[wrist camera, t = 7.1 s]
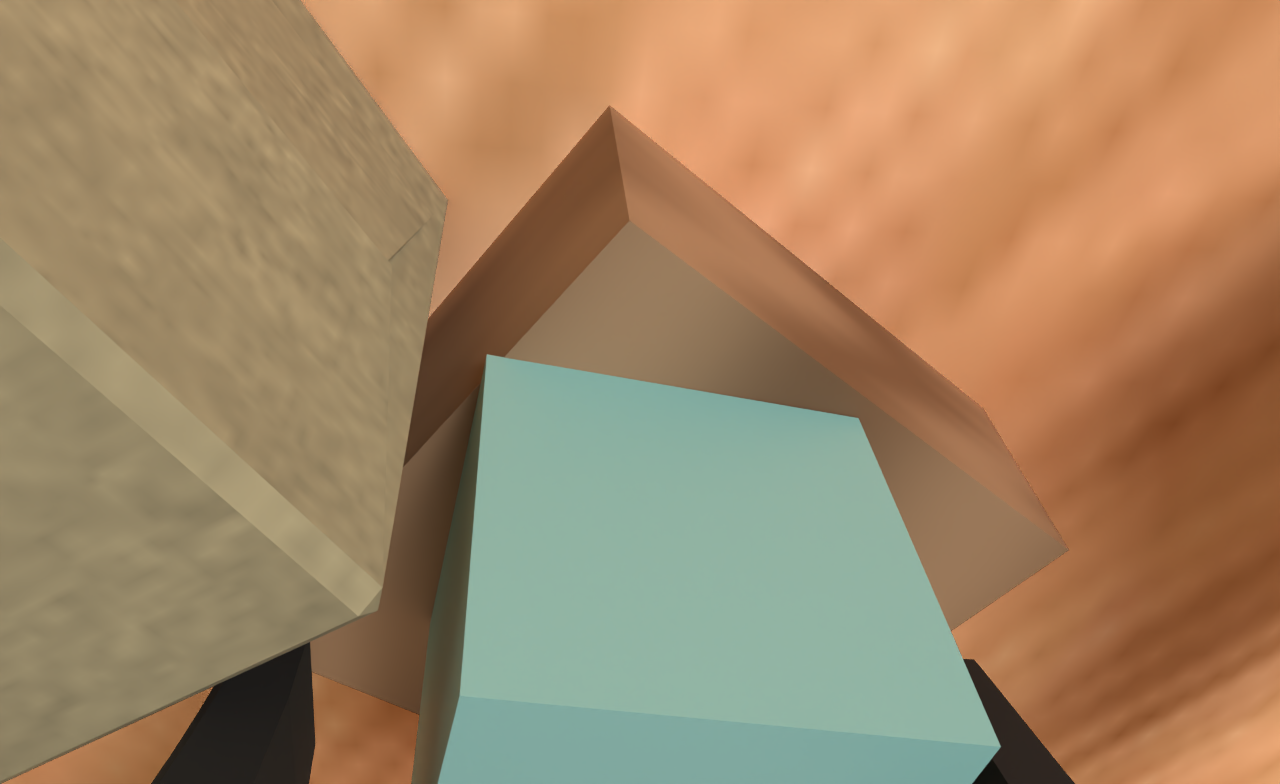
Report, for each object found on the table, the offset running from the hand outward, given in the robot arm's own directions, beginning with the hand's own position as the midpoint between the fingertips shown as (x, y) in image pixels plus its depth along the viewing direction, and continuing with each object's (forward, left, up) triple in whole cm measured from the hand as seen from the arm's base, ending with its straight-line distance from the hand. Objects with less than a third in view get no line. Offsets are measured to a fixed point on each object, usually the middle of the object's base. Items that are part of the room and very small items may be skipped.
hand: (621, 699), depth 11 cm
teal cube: (0, 0, -3) cm, 3 cm away
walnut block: (-2, +1, -7) cm, 7 cm away
